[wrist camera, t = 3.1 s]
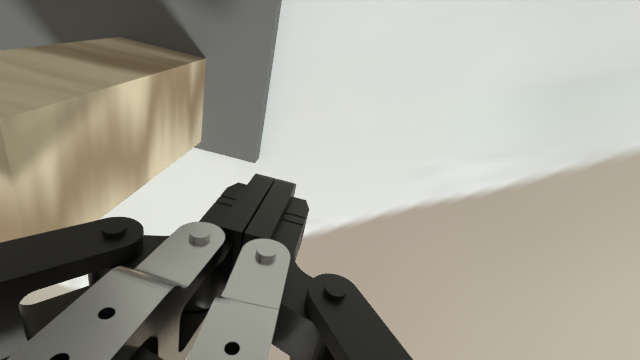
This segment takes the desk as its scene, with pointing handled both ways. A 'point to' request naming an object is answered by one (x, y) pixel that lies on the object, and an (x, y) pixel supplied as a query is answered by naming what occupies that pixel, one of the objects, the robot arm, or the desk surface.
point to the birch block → (90, 127)
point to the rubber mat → (179, 35)
